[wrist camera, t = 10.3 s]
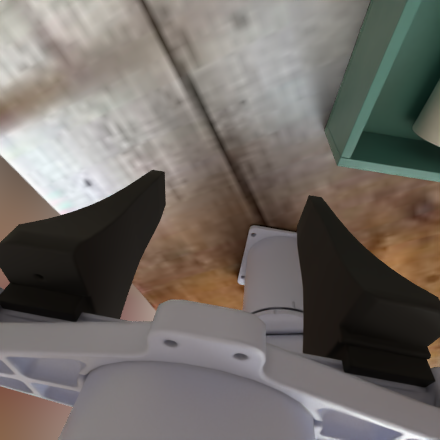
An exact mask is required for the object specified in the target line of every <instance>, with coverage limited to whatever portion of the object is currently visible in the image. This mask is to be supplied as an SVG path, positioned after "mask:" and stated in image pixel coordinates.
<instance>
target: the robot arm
mask: <svg viewBox="0 0 440 440" xmlns="http://www.w3.org/2000/svg"><path fill="white" fill-rule="evenodd" d="M165 205H166V201H165V172H163V171H156V170H152V171H150V172H148V173H147V174H145V175H144V176H142V177H141V178H139V179H138V180H136V181H135V182H133V183H132V184H130V185H128V186H127V187H125V188H124V189H122V190H120V191H118V192H117V193H115V194H113V195H111V196H109V197H107V198H105V199H103V200H101V201H99V202H97V203H95V204H92V205H90V206H87V207H84V208H82V209H79V210H76V211H73V212H70V213H67V214H64V215H60V216H57V217H53V218H49V219H45V220H40V221H35V222H30V223H25V224H19V225H18V226H17V227H16V228H15V229H14V230H13V231H12V232H11V233H10V234H9V235H8V236H7V237H5V238H4V239H3V240H2V241H1V242H0V268H1V269H2V271H3V272H4V274H5V276H6V277H7V278H8V280H9V282H10V284H9V285H8V286H7V287H6V288H5V289H2V288H0V386H1V387H5V388H9V389H12V390H16V391H20V392H23V393H26V394H30V395H33V396H37V397H40V398H44V399H47V400H50V401H54V402H57V403H61V404H65V405H68V406H71V407H73V408H72V410H71V413H70V415H69V417H68V419H67V421H66V424H65V425H64V427H63V430H62V432H61V434H60V436H59V438H58V440H440V367H434V368H430V366H429V364H428V361H427V359H429V358H431V354H430V352H429V350H428V347H427V346H429V345H430V344H431V343H433V342H434V341H435V340H437V339H438V338H439V337H440V301H439V299H438V297H436V296H435V295H433V294H431V293H429V292H428V291H426V290H424V289H422V288H421V287H419V286H417V285H415V284H414V283H412V282H410V281H409V280H407V279H406V278H404V277H403V276H401V275H400V274H398V273H397V272H395V271H394V270H392V269H391V268H390V267H388V266H387V265H386V264H384V263H383V262H382V261H380V260H379V259H378V258H377V257H375V256H374V255H373V254H372V253H371V252H370V251H369V250H367V249H366V248H365V247H364V246H363V245H362V244H361V243H360V242H359V241H358V240H357V239H356V238H355V237H354V236H353V235H352V234H351V233H350V232H349V231H348V230H347V228H346V227H345V226H344V225H343V224H342V223H341V221H340V220H339V219H338V218H337V216H336V215H335V214H334V213H333V211H332V210H331V209H330V207H329V206H328V205H327V204H326V202H325V201H324V200H323V199H322V197H316V196H310V195H309V197H308V199H307V202H306V204H305V207H304V210H303V212H302V215H301V217H300V220H299V223H298V225H297V232H291V231H285V230H279V229H274V228H268V227H262V226H256V225H253V226H251V227H250V229H249V233H248V238H247V242H246V246H245V250H244V255H243V259H242V263H241V268H240V272H239V276H238V283H239V284H242V285H245V288H244V300H243V311H242V310H236V309H231V308H225V307H220V306H214V305H209V304H203V303H198V302H192V301H187V300H169V301H166V302H164V303H161V304H159V306H158V308H157V311H156V314H155V316H154V319H153V321H151V322H150V321H145V322H144V321H143V322H132V321H126V320H121V319H120V317H121V314H122V310H123V307H124V304H125V301H126V298H127V295H128V292H129V289H130V286H131V284H132V281H133V278H134V275H135V272H136V270H137V267H138V264H139V262H140V259H141V257H142V255H143V253H144V251H145V249H146V247H147V245H148V243H149V241H150V239H151V237H152V235H153V234H154V232H155V230H156V228H157V226H158V224H159V222H160V219H161V217H162V214H163V211H164V208H165ZM252 233H255V234H252Z"/></svg>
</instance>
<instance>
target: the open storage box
mask: <svg viewBox="0 0 440 440" xmlns="http://www.w3.org/2000/svg"><path fill="white" fill-rule="evenodd" d="M439 79H440V0H371V2H370V5H369V8H368V11H367V13H366V16H365V19H364V22H363V25H362V27H361V30H360V33H359V36H358V38H357V41H356V44H355V47H354V50H353V52H352V55H351V58H350V61H349V64H348V66H347V69H346V72H345V75H344V77H343V80H342V83H341V86H340V89H339V91H338V94H337V97H336V100H335V103H334V105H333V108H332V111H331V114H330V116H329V119H328V122H327V125H326V128H325V130H324V131H325V134H326V137H327V139H328V142H329V145H330V148H331V150H332V153H333V156H334V159H335V161H336V164H337V166H342V167H348V168H355V169H361V170H367V171H374V172H380V173H386V174H392V175H399V176H405V177H411V178H417V179H424V180H430V181H436V182H440V147H439V146H437V145H434V144H432V143H430V142H428V141H426V140H424V139H423V138H421V137H420V136H418V135H417V134H416V133H415V132H414V131H413V128H412V127H413V125H414V123H415V121H416V120H417V118H418V116H419V114H420V112H421V111H422V109H423V107H424V105H425V104H426V102H427V100H428V98H429V97H430V95H431V93H432V91H433V90H434V88H435V86H436V84H437V83H438V81H439Z"/></svg>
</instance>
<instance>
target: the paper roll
mask: <svg viewBox="0 0 440 440" xmlns="http://www.w3.org/2000/svg"><path fill="white" fill-rule="evenodd" d="M412 128H413V131H414V132H415V133H416V134H417V135H418V136H420V137H421V138H423V139H424V140H426V141H428V142H430V143H432V144H434V145H437V146H439V147H440V79H439V81H438V83H437V84H436V86H435V88H434V90H433V91H432V93H431V95H430V97H429V98H428V100H427V102H426V104H425V105H424V107H423V109H422V111H421V112H420V114H419V116H418V118H417V120H416V121H415V123H414V125H413V127H412Z"/></svg>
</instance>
